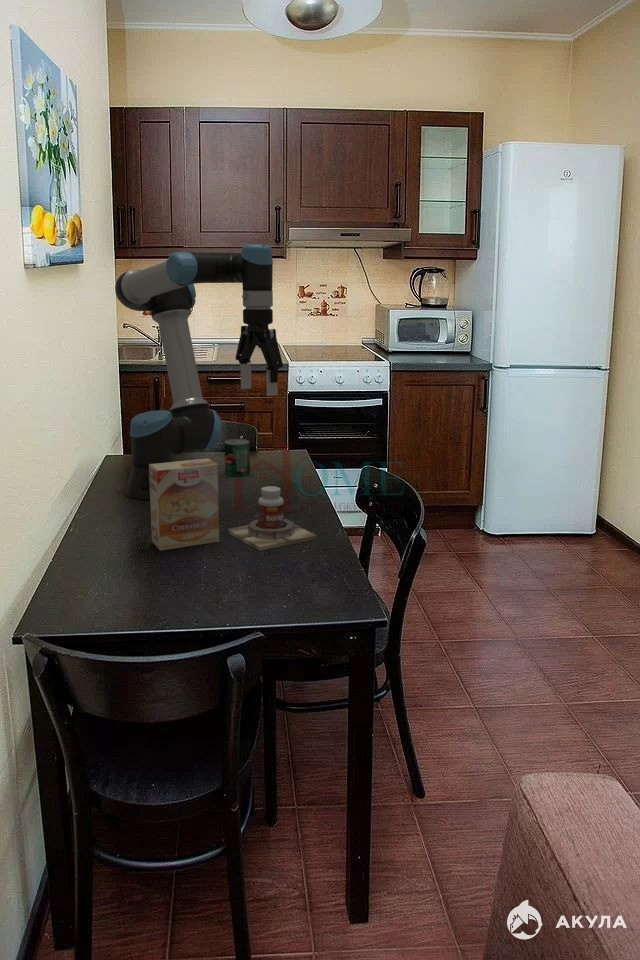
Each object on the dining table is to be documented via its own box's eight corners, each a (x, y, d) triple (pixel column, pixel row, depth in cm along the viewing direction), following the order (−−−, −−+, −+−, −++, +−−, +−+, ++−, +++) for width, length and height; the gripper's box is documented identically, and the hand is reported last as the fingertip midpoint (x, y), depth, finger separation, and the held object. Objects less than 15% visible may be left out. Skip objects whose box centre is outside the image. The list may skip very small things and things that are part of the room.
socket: (227, 532, 210) (227, 521, 210) (282, 522, 219) (282, 511, 218) (259, 551, 197) (259, 538, 197) (316, 539, 206) (316, 527, 205)
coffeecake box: (160, 551, 197) (156, 470, 192) (151, 542, 203) (147, 463, 198) (220, 542, 204) (218, 463, 199) (210, 533, 210) (208, 457, 205)
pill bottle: (266, 537, 204) (266, 493, 201) (253, 530, 209) (253, 487, 206) (288, 533, 207) (288, 489, 204) (275, 526, 212) (275, 484, 209)
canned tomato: (255, 474, 267) (254, 440, 264) (240, 480, 260) (239, 445, 257) (235, 471, 271) (234, 437, 268) (219, 476, 264) (219, 442, 261)
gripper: (221, 305, 221) (223, 386, 226) (269, 311, 201) (270, 399, 206) (247, 305, 225) (248, 384, 230) (296, 310, 205) (296, 397, 210)
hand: (258, 392), depth 218 cm, fingers open, 13 cm apart
